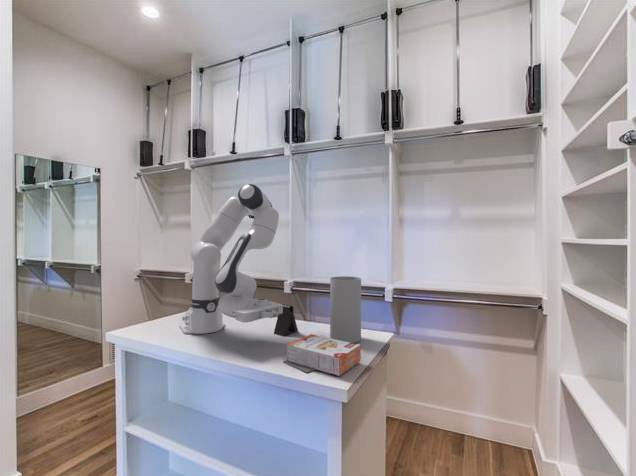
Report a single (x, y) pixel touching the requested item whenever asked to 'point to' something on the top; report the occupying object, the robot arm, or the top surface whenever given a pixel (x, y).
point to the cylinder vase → (345, 309)
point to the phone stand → (286, 322)
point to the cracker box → (324, 354)
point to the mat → (300, 367)
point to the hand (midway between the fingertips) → (274, 315)
